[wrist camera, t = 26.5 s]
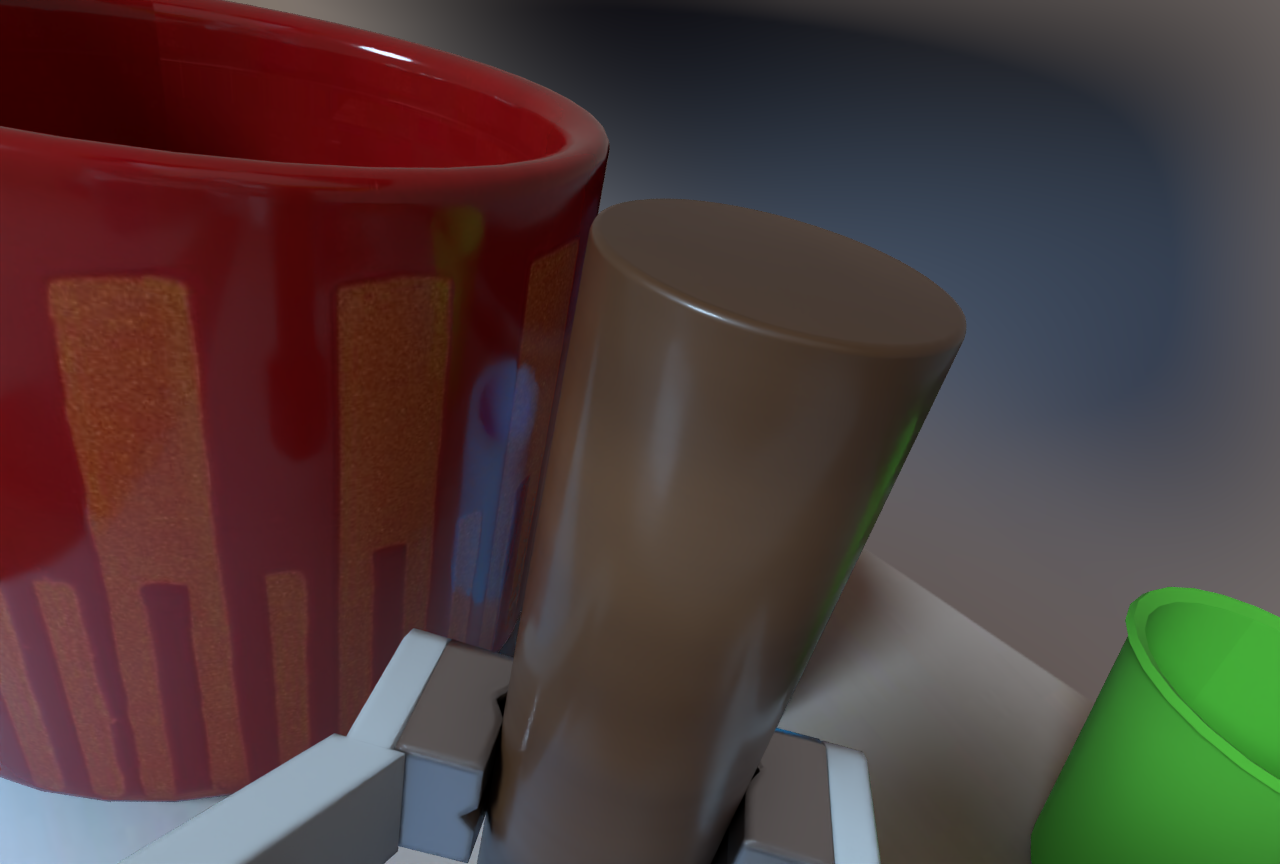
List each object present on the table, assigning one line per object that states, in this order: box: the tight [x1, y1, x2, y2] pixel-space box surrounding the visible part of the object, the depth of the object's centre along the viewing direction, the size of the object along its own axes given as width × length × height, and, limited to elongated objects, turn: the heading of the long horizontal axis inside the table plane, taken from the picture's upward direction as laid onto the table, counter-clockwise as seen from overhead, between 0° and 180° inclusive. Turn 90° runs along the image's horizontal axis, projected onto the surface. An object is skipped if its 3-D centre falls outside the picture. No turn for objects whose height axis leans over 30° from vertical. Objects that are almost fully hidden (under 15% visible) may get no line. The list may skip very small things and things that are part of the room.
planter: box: [0, 0, 610, 802], centre depth 27 cm, size 23×23×20 cm
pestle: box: [477, 199, 966, 864], centre depth 10 cm, size 4×4×16 cm
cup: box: [1031, 587, 1280, 864], centre depth 25 cm, size 9×9×11 cm
